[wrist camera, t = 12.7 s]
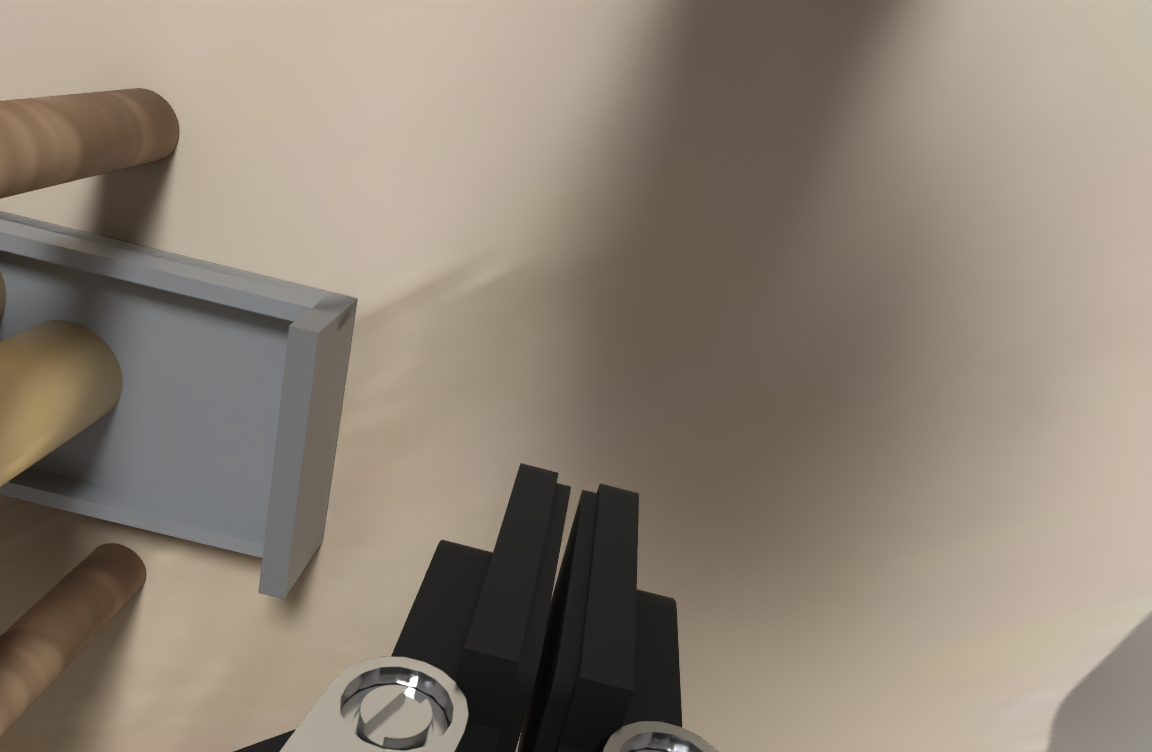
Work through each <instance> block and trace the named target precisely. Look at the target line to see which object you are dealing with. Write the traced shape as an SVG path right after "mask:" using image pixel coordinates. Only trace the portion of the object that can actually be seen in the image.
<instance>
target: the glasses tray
mask: <svg viewBox="0 0 1152 752" xmlns="http://www.w3.org/2000/svg"><path fill="white" fill-rule="evenodd" d="M356 306H357V298H353V297H349V296H345V295H341V294H337V293H333V292H329V291H325V290H320V289H316V288H312V287H308V286H304V285H300V284H296V283H292V282H288V281H284V280H280V279H275V278H271V277H267V276H263V275H259V274H255V273H251V272H247V271H243V270H239V269H235V268H230V267H226V266H222V265H218V264H214V263H210V262H206V261H202V260H198V259H194V258H190V257H185V256H181V255H177V254H173V253H169V252H165V251H161V250H157V249H153V248H149V247H145V246H140V245H136V244H132V243H128V242H124V241H120V240H116V239H112V238H108V237H104V236H100V235H95V234H91V233H87V232H83V231H79V230H75V229H71V228H67V227H63V226H59V225H55V224H50V223H46V222H42V221H38V220H34V219H30V218H26V217H22V216H18V215H14V214H10V213H5V212H1V211H0V495H3V496H8V497H12V498H16V499H20V500H24V501H28V502H32V503H37V504H41V505H45V506H49V507H53V508H57V509H61V510H66V511H70V512H74V513H78V514H82V515H86V516H90V517H95V518H99V519H103V520H107V521H111V522H115V523H119V524H124V525H128V526H132V527H136V528H140V529H144V530H148V531H153V532H157V533H161V534H165V535H169V536H173V537H177V538H181V539H186V540H190V541H194V542H198V543H202V544H206V545H210V546H215V547H219V548H223V549H227V550H231V551H235V552H239V553H244V554H248V555H252V556H256V557H260V558H262V566H261V575H260V584H259V592H258V593H261V594H265V595H269V596H273V597H277V598H282V599H285V598H286V596H287V594H288V593H289V591H290V590H291V588H292V587H293V585H294V584H295V582H296V581H297V579H298V578H299V576H300V575H301V573H302V572H303V570H304V569H305V567H306V565H307V564H308V562H309V561H310V559H311V558H312V556H313V555H314V553H315V552H316V550H317V549H318V547H319V546H320V544H321V543H322V541H323V536H324V529H325V522H326V515H327V508H328V501H329V494H330V487H331V480H332V473H333V466H334V459H335V452H336V445H337V438H338V431H339V424H340V417H341V410H342V403H343V396H344V389H345V382H346V375H347V369H348V362H349V355H350V348H351V341H352V334H353V327H354V320H355V313H356Z"/></svg>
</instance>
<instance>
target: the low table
mask: <svg viewBox="0 0 1152 752" xmlns="http://www.w3.org/2000/svg"><path fill="white" fill-rule="evenodd" d="M178 138H179V124H178V120H177V117H176V115H175V113H174V111H173V109H172V107H171V106H170V105H169V103H168V102H167V101H166V100H165V99H164V98H162V97H161V96H160V95H158V94H157V93H155V92H153V91H150V90H147V89H141V88H136V89H125V90H114V91H104V92H93V93H82V94H71V95H60V96H49V97H38V98H27V99H17V100H6V101H0V198H4V197H9V196H13V195H17V194H21V193H25V192H29V191H33V190H38V189H42V188H46V187H50V186H54V185H58V184H62V183H66V182H71V181H75V180H79V179H83V178H87V177H91V176H95V175H99V174H104V173H108V172H112V171H116V170H120V169H124V168H128V167H132V166H137V165H141V164H145V163H149V162H153V161H157V160H161V159H163V158H165V157H167V156H168V155H169V154H171V152H172V151H173V150H174V148H175V147H176V145H177V142H178ZM145 579H146V569H145V566H144V564H143V562H142V560H141V559H140V557H139V556H138V555H137V554H136V553H135V552H134V551H132V550H131V549H129V548H127V547H125V546H123V545H119V544H104V545H101V546H99V547H98V548H96V549H95V550H94V551H93V552H92V553H91V554H90V555H89V556H87V557H86V558H85V559H84V560H83V561H82V562H81V563H80V564H79V565H78V566H77V567H75V568H74V569H73V570H72V571H71V572H70V573H69V574H68V575H67V576H66V577H65V578H63V579H62V580H61V581H60V582H59V583H58V584H57V585H56V586H55V587H54V588H53V589H51V590H50V591H49V592H48V593H47V594H46V595H45V596H44V597H43V598H42V599H41V600H39V601H38V602H37V603H36V604H35V605H34V606H33V607H32V608H31V609H30V610H29V611H27V612H26V613H25V614H24V615H23V616H22V617H21V618H20V619H19V620H18V621H17V622H15V623H14V624H13V625H12V626H11V627H10V628H9V629H8V630H7V631H6V632H5V633H3V634H2V635H1V636H0V737H1V736H2V735H3V734H4V733H5V732H6V731H7V730H8V729H9V728H10V727H11V726H12V725H13V724H14V722H15V721H16V720H17V719H18V718H19V717H20V716H21V715H22V714H23V713H24V712H25V711H26V710H27V709H28V707H29V706H30V705H31V704H32V703H33V702H34V701H35V700H36V699H37V698H38V697H39V696H40V695H41V694H42V692H43V691H44V690H45V689H46V688H47V687H48V686H49V685H50V684H51V683H52V682H53V681H54V680H55V679H56V677H57V676H58V675H59V674H60V673H61V672H62V671H63V670H64V669H65V668H66V667H67V666H68V665H69V664H70V662H71V661H72V660H73V659H74V658H75V657H76V656H77V655H78V654H79V653H80V652H81V651H82V650H83V649H84V647H85V646H86V645H87V644H88V643H89V642H90V641H91V640H92V639H93V638H94V637H95V636H96V635H97V633H98V632H99V631H100V630H101V629H102V628H103V627H104V626H105V625H106V624H107V623H108V622H109V621H110V620H111V618H112V617H113V616H114V615H115V614H116V613H117V612H118V611H119V610H120V609H121V608H122V607H123V606H124V605H125V603H126V602H127V601H128V600H129V599H130V598H131V597H132V596H133V595H134V594H135V593H136V592H137V591H138V590H139V588H140V587H141V586H142V585H143V584H144V582H145Z"/></svg>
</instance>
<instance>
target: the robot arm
mask: <svg viewBox="0 0 1152 752" xmlns="http://www.w3.org/2000/svg"><path fill="white" fill-rule="evenodd" d="M557 478H558V473H557V472H553V471H549V470H545V469H541V468H537V467H533V466H529V465H526V464H522V463H521V464H520V467H519V470H518V473H517V477H516V480H515V483H514V487H513V490H512V493H511V496H510V500H509V503H508V506H507V509H506V513H505V516H504V519H503V522H502V526H501V529H500V532H499V535H498V539H497V542H496V545H495V549H494V552H493V553H492V552H488V551H484V550H481V549H477V548H473V547H469V546H465V545H461V544H457V543H453V542H449V541H445V540H441V541H440V542H439V544H438V546H437V549H436V551H435V553H434V556H433V558H432V560H431V563H430V565H429V568H428V570H427V572H426V575H425V577H424V580H423V582H422V584H421V587H420V589H419V591H418V594H417V596H416V599H415V601H414V603H413V606H412V608H411V610H410V613H409V615H408V618H407V620H406V622H405V625H404V627H403V629H402V632H401V634H400V637H399V639H398V641H397V644H396V646H395V648H394V651H393V653H392V656H391V657H379V658H374V659H369V660H364V661H361V662H359V663H357V664H355V665H353V666H351V667H349V668H347V669H345V670H344V671H343V672H342V673H341V674H340V675H339V676H338V677H337V678H335V679H334V680H333V681H332V682H331V684H330V685H329V686H328V688H327V689H326V690H325V692H324V693H323V694H322V696H321V697H320V698H319V700H318V701H317V702H316V704H315V705H314V706H313V708H312V709H311V710H310V712H309V713H308V714H307V716H306V717H305V718H304V720H303V721H302V722H301V724H300V725H299V726H298V728H297V729H295V730H292V731H290V732H287V733H284V734H281V735H278V736H276V737H273V738H270V739H267V740H264V741H262V742H259V743H256V744H253V745H251V746H248V747H245V748H242V749H239V750H237V751H234V752H515V751H516V747H517V744H518V740H519V737H520V741H519V746H518V752H718V751H717V750H716V749H715V748H714V747H712V746H711V745H710V744H709V743H707V742H706V741H705V740H704V739H702V738H701V737H700V736H698V735H696V734H694V733H692V732H690V731H688V730H686V729H684V728H682V711H681V690H680V669H679V648H678V627H677V607H676V601H675V600H674V599H673V598H669V597H665V596H661V595H657V594H653V593H649V592H645V591H641V590H637V550H638V509H639V494H638V493H635V492H631V491H627V490H623V489H619V488H615V487H611V486H607V485H604V484H600V485H599V487H598V490H597V493H593V492H589V491H585V490H583V491H582V493H581V497H580V500H579V503H578V507H577V511H576V514H575V518H574V521H573V525H572V528H571V532H570V535H569V539H568V543H567V546H566V550H565V553H564V557H563V560H562V564H561V567H560V571H559V575H558V578H557V582H556V585H555V589H554V592H553V596H552V591H553V586H554V580H555V574H556V569H557V563H558V558H559V552H560V546H561V541H562V535H563V529H564V524H565V518H566V512H567V507H568V501H569V495H570V490H571V487H570V486H566V485H562V484H558V483H556V482H557ZM551 597H552V599H551ZM520 733H521V735H520Z"/></svg>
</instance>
